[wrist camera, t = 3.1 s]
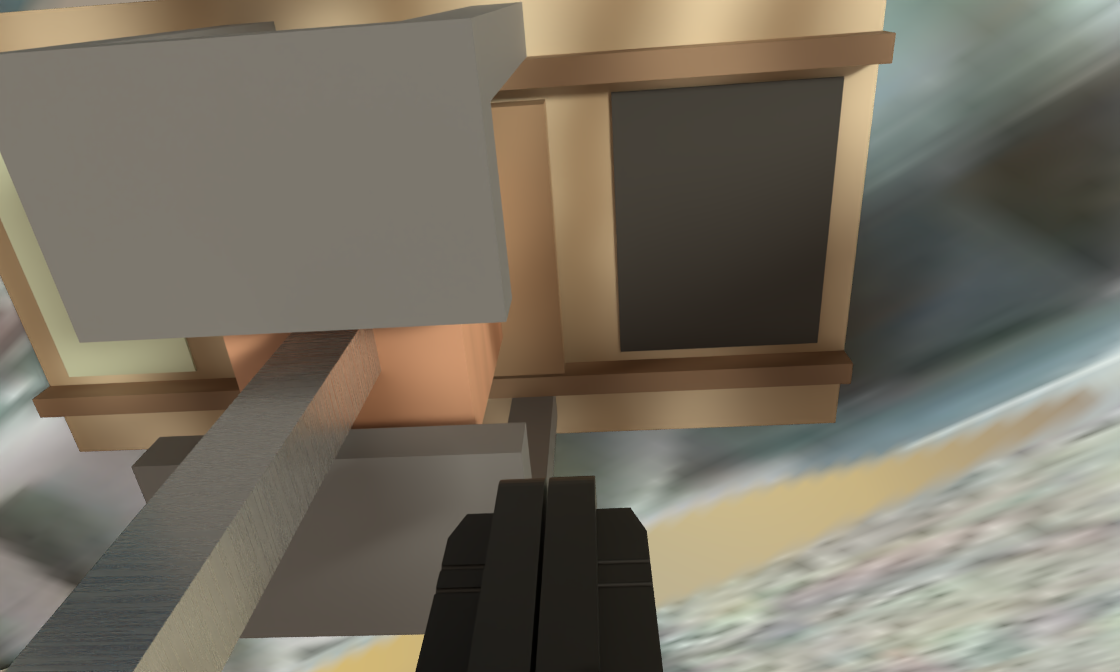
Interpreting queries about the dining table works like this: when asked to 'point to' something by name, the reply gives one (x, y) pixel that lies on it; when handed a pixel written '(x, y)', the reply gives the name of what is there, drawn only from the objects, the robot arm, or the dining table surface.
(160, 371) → the tunnel track
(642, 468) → the dining table surface
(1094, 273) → the dining table surface
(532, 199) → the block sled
